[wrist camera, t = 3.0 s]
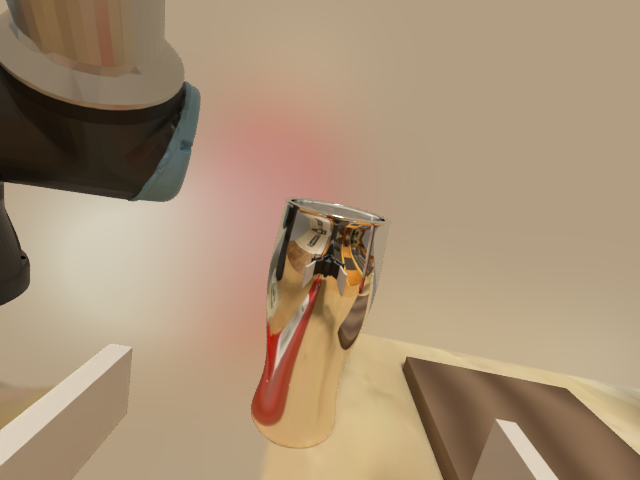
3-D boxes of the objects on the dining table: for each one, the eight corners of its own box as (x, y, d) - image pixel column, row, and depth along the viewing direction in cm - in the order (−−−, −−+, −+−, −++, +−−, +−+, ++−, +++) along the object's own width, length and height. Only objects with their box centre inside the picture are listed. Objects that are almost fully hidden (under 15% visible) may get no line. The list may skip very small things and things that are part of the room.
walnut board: (481, 578, 15) (491, 554, 15) (402, 369, 31) (406, 356, 30) (799, 637, 15) (816, 616, 15) (560, 401, 31) (566, 388, 31)
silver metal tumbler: (265, 369, 26) (298, 194, 23) (345, 394, 25) (392, 215, 22) (225, 434, 20) (265, 199, 16) (333, 471, 19) (397, 229, 15)
